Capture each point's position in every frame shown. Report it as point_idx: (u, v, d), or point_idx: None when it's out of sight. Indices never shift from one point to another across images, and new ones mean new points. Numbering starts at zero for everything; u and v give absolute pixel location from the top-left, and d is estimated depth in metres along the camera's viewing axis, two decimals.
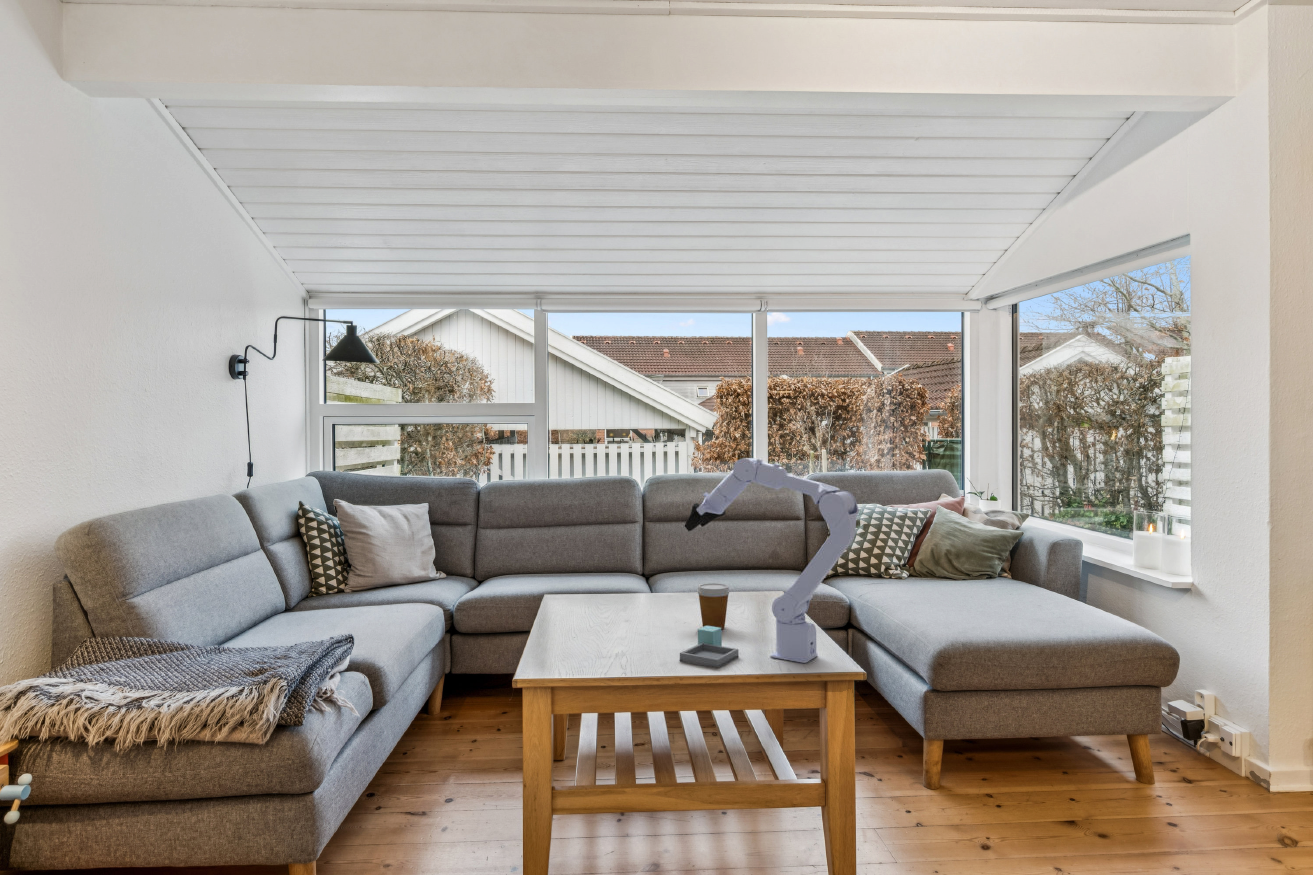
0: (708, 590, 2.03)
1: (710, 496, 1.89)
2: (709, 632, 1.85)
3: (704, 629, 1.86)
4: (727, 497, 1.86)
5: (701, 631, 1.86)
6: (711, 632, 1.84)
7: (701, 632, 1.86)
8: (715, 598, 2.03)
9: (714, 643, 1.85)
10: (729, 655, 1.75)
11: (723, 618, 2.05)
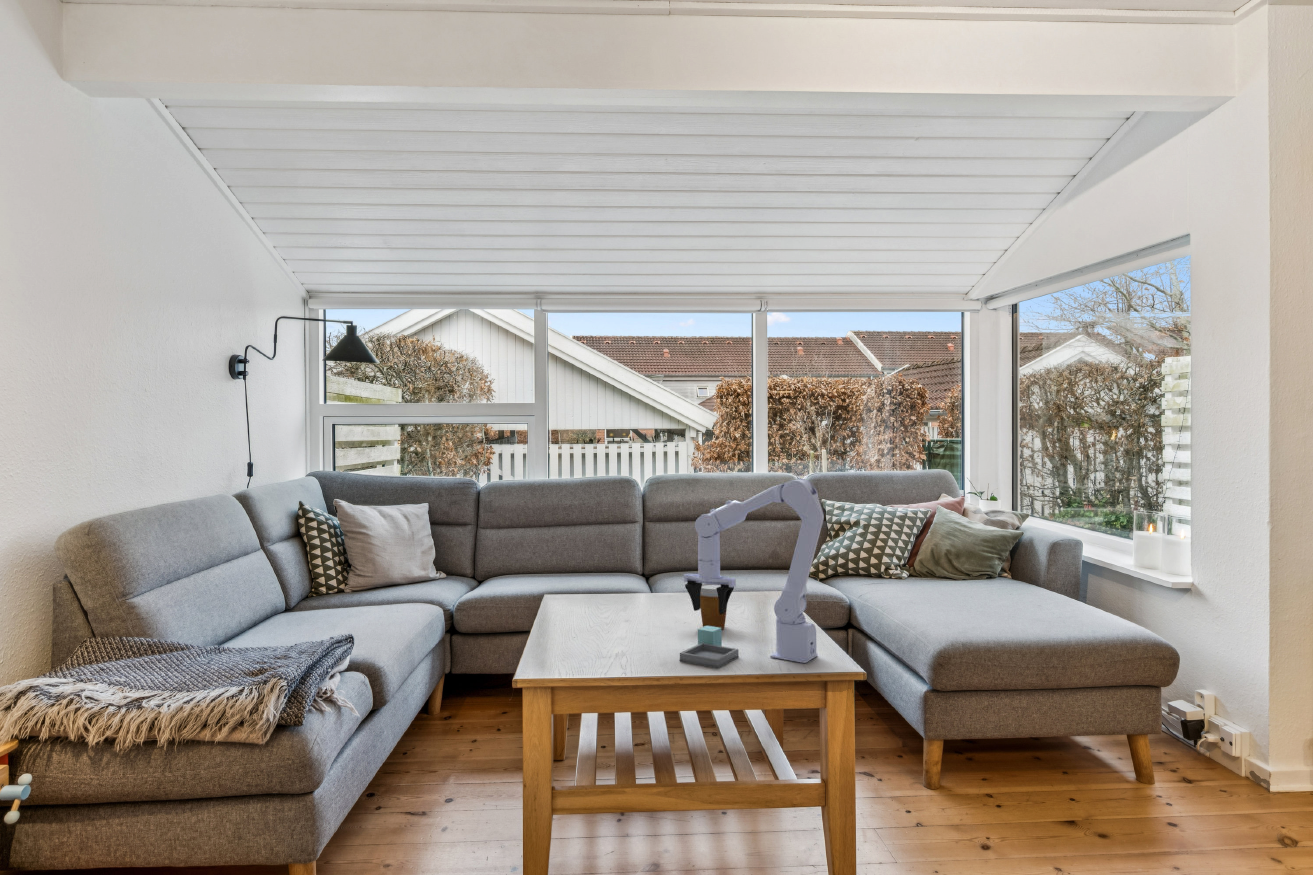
0: (708, 590, 2.03)
1: (713, 573, 1.85)
2: (709, 632, 1.85)
3: (704, 629, 1.86)
4: (713, 559, 1.85)
5: (701, 631, 1.86)
6: (711, 632, 1.84)
7: (701, 632, 1.86)
8: (715, 598, 2.03)
9: (714, 643, 1.85)
10: (729, 655, 1.75)
11: (723, 618, 2.05)
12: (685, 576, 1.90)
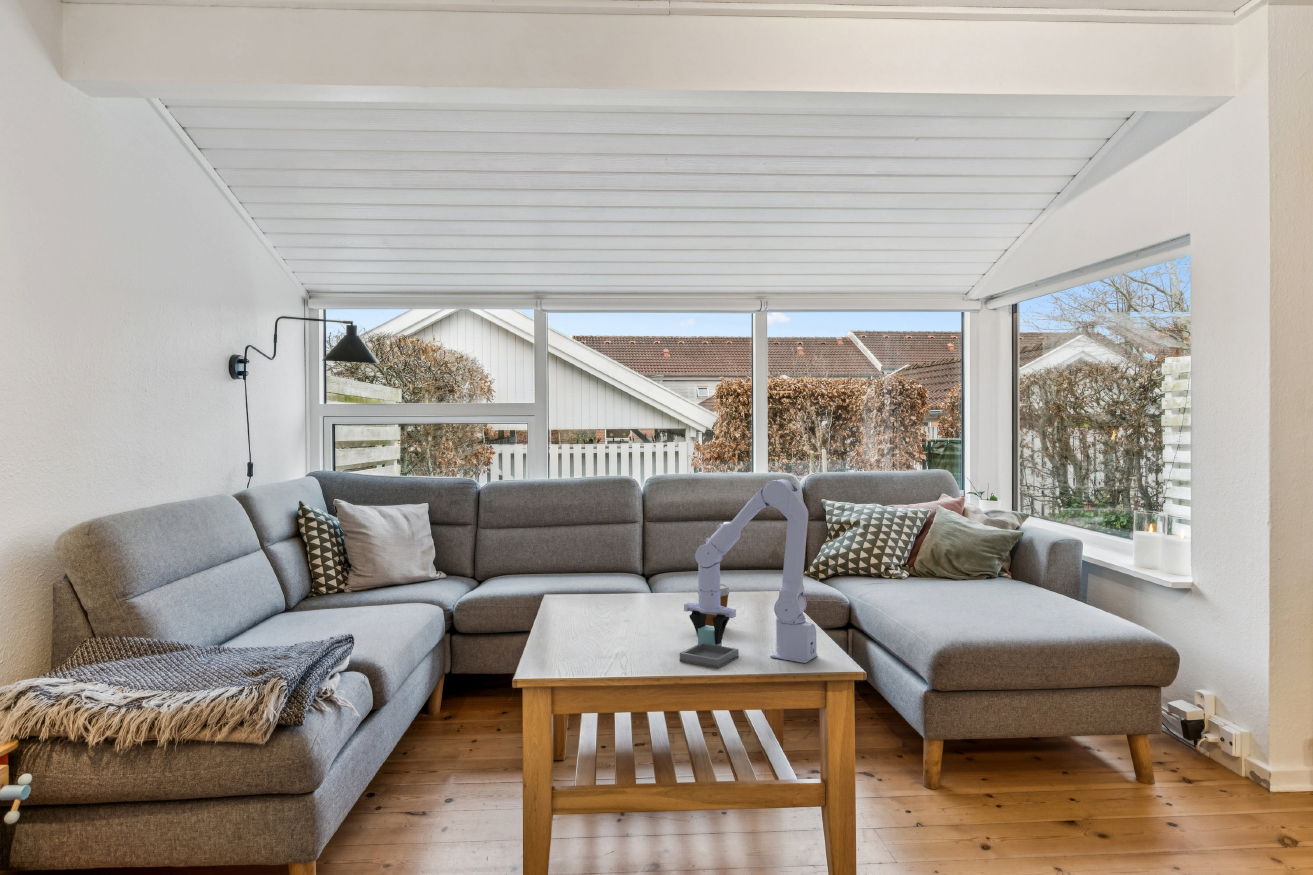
0: None
1: (713, 603, 1.85)
2: (709, 632, 1.85)
3: (704, 629, 1.86)
4: (713, 590, 1.85)
5: (701, 631, 1.86)
6: (711, 632, 1.84)
7: (701, 632, 1.86)
8: None
9: (714, 643, 1.85)
10: (729, 655, 1.75)
11: None
12: (685, 606, 1.90)
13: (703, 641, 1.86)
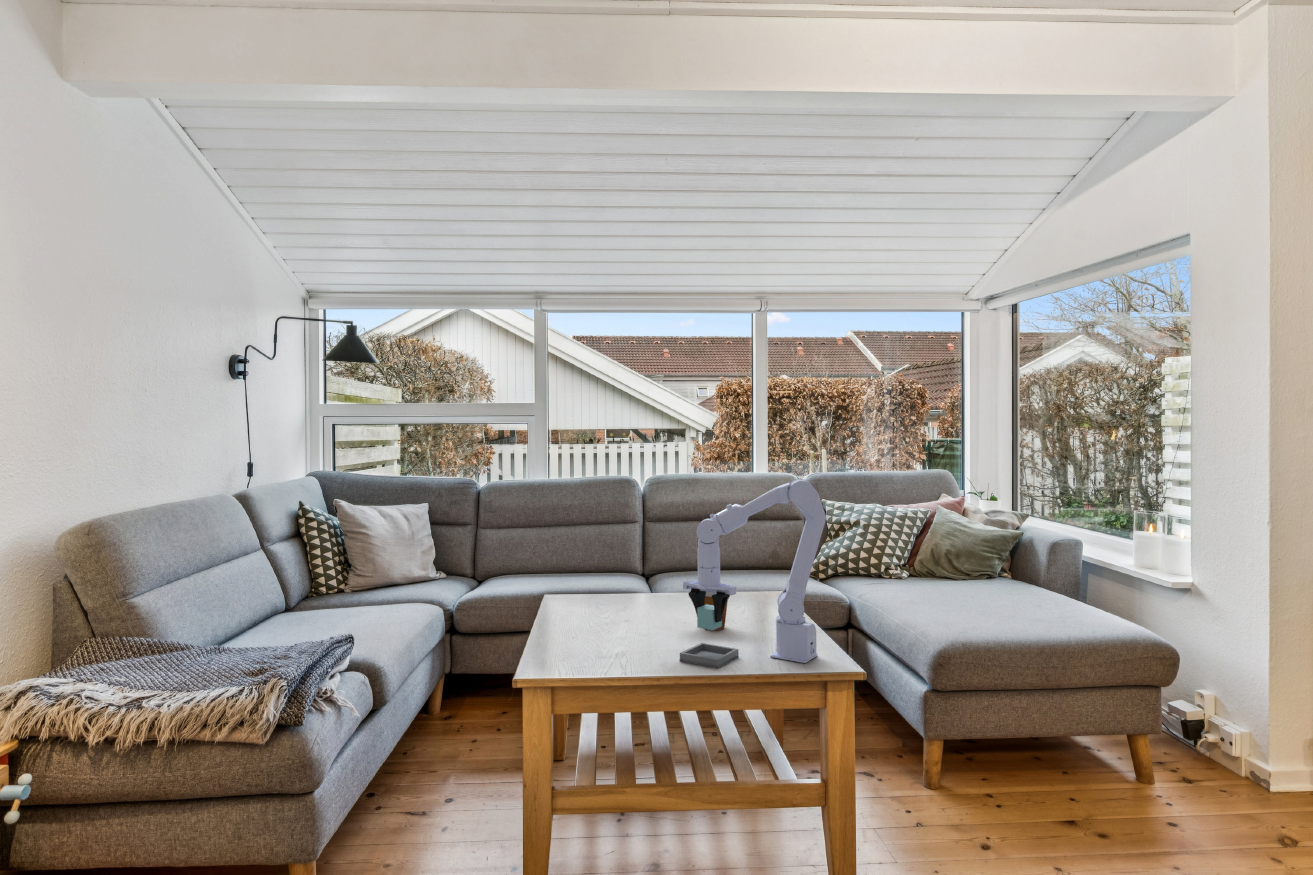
0: None
1: (712, 580, 1.79)
2: (709, 611, 1.79)
3: (704, 608, 1.81)
4: (715, 566, 1.80)
5: (701, 609, 1.81)
6: (711, 611, 1.79)
7: (700, 611, 1.81)
8: None
9: (714, 622, 1.79)
10: (729, 655, 1.75)
11: (723, 618, 2.05)
12: (684, 583, 1.85)
13: (702, 620, 1.81)
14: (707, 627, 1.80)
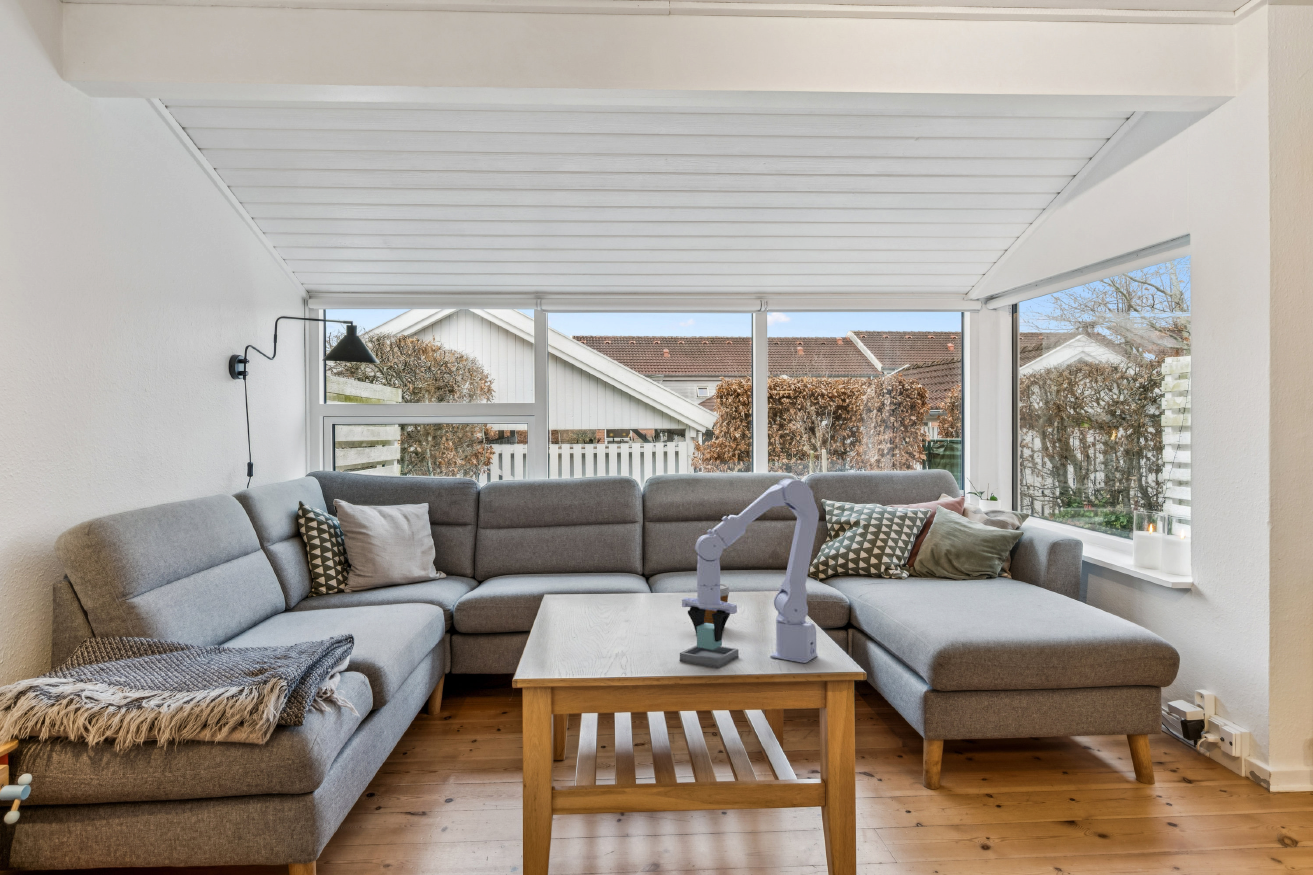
0: None
1: (713, 598, 1.74)
2: (709, 629, 1.75)
3: (703, 626, 1.76)
4: (717, 583, 1.75)
5: (700, 628, 1.76)
6: (711, 629, 1.74)
7: (700, 630, 1.76)
8: None
9: (714, 641, 1.75)
10: (729, 655, 1.75)
11: None
12: (683, 601, 1.80)
13: (702, 639, 1.76)
14: (707, 646, 1.75)
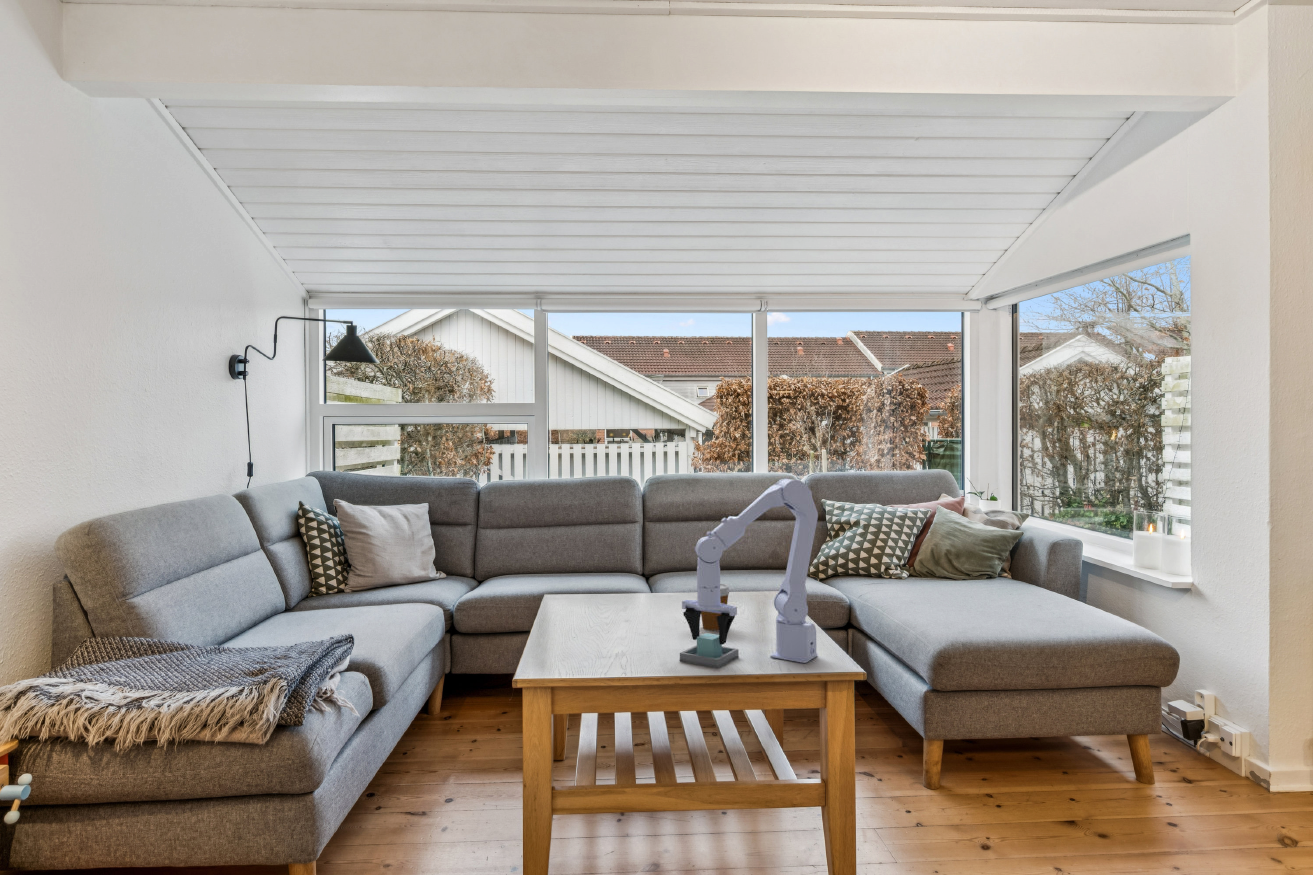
0: None
1: (713, 600, 1.74)
2: (708, 640, 1.75)
3: (703, 637, 1.76)
4: (717, 585, 1.75)
5: (700, 639, 1.76)
6: (711, 640, 1.74)
7: (700, 640, 1.76)
8: None
9: (714, 652, 1.75)
10: (729, 655, 1.75)
11: None
12: (683, 603, 1.80)
13: (702, 650, 1.76)
14: None
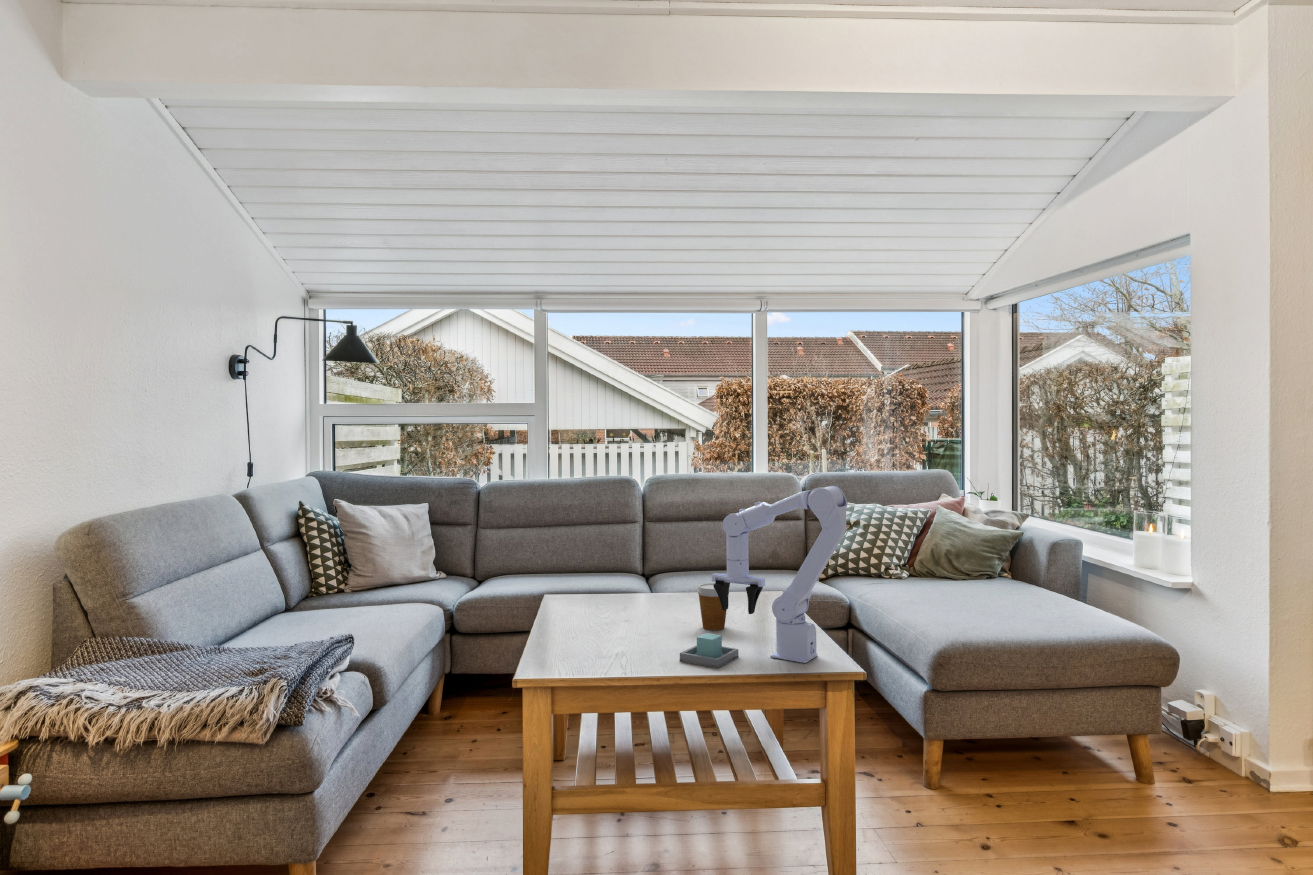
0: (708, 590, 2.03)
1: (742, 572, 1.84)
2: (708, 640, 1.75)
3: (703, 637, 1.76)
4: (740, 559, 1.84)
5: (700, 639, 1.76)
6: (711, 640, 1.74)
7: (700, 640, 1.76)
8: (715, 598, 2.03)
9: (714, 652, 1.75)
10: (729, 655, 1.75)
11: (723, 618, 2.05)
12: (713, 576, 1.90)
13: (702, 650, 1.76)
14: None
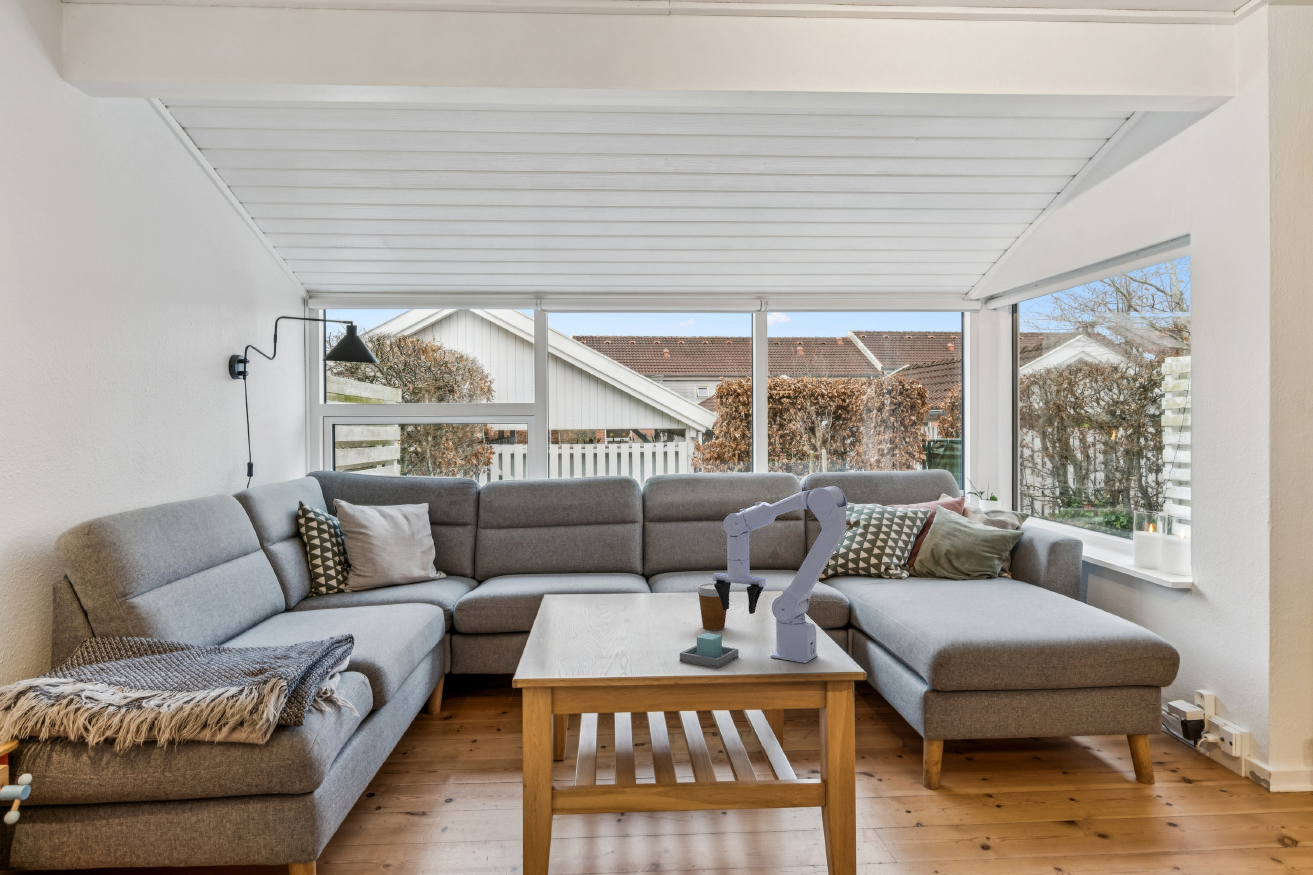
0: (708, 590, 2.03)
1: (742, 572, 1.84)
2: (708, 640, 1.75)
3: (703, 637, 1.76)
4: (741, 559, 1.84)
5: (700, 639, 1.76)
6: (711, 640, 1.74)
7: (700, 640, 1.76)
8: (715, 598, 2.03)
9: (714, 652, 1.75)
10: (729, 655, 1.75)
11: (723, 618, 2.05)
12: (714, 575, 1.90)
13: (702, 650, 1.76)
14: None
